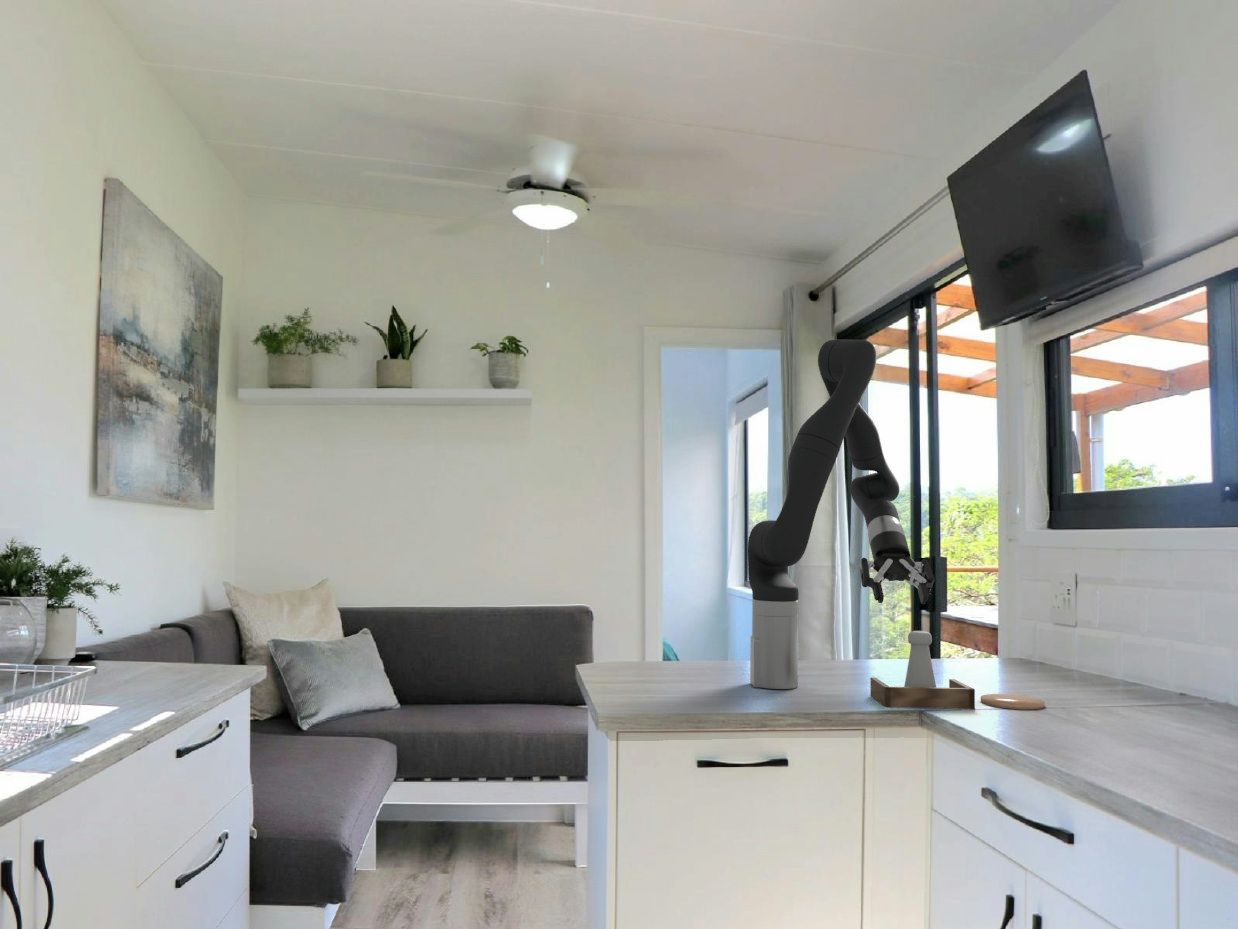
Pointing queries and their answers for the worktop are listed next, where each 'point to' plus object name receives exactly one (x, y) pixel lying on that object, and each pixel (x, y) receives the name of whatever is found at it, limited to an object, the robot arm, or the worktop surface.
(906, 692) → the tray
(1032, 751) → the worktop surface
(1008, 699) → the trivet
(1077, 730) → the worktop surface
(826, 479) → the robot arm
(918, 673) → the salt shaker
